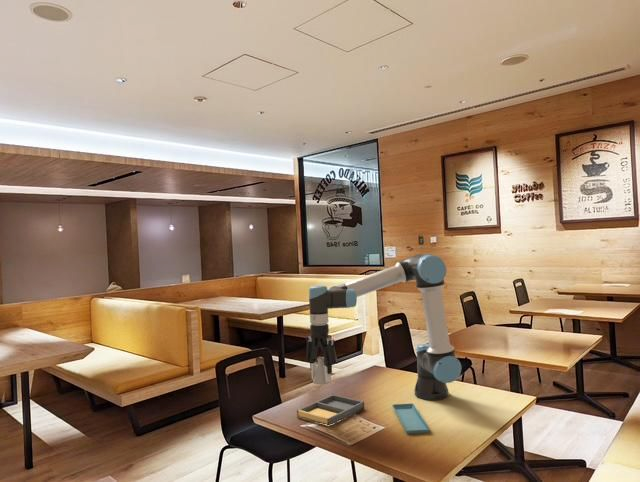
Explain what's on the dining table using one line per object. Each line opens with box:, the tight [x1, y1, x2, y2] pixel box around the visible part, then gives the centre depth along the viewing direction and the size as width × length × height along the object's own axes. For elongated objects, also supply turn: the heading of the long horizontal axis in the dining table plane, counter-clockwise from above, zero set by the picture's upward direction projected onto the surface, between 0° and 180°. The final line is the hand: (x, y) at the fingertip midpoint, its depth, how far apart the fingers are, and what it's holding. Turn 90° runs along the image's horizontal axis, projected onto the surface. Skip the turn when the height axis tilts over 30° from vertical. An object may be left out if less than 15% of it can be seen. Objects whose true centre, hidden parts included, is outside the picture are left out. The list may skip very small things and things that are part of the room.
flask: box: [312, 356, 330, 385], centre depth 186 cm, size 7×7×10 cm
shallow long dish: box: [391, 403, 431, 435], centre depth 179 cm, size 26×9×2 cm, turn 2°
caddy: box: [296, 394, 365, 425], centre depth 190 cm, size 17×23×3 cm
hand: (321, 379), depth 186 cm, fingers closed on flask, 7 cm apart
